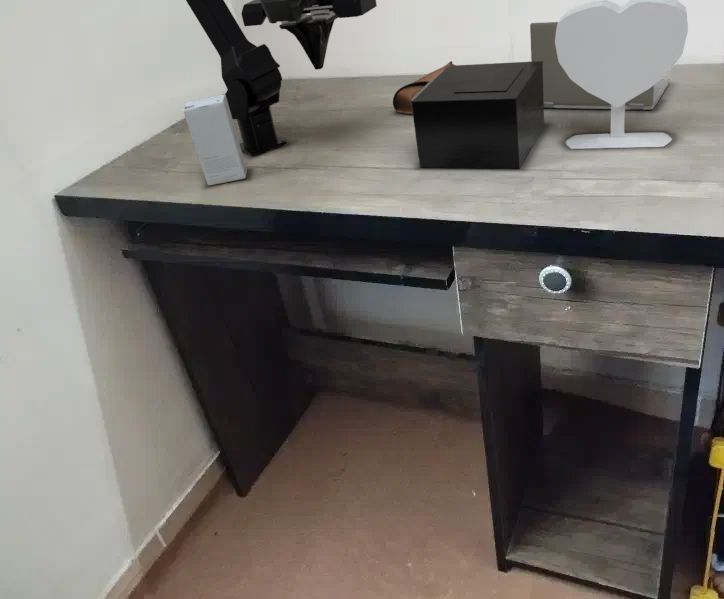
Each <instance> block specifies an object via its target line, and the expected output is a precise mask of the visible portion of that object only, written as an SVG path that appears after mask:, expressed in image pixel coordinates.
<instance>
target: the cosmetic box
mask: <svg viewBox="0 0 724 599" xmlns="http://www.w3.org/2000/svg"><path fill="white" fill-rule="evenodd" d="M182 112H183V114H184V117H185V120H186V123H187V126H188V129H189V133H190V135H191V138H192V142H193V144H194V148H195V150H196V154H197V157H198V160H199V163H200V166H201V169H202V172H203V176H204V178H205V182H206V185H207V186H215V185H220V184H224V183H229V182H234V181H239V180H244V179H246V178H247V171H248V168H247V164H246V162H245V158H244V154H243V151H242V150H241V147H240V144H241V143H240V140H239V136H238V133H237V129H236V127H235V122H234V119H232V115H231V112H230V109H229V105H228V101H227V98H226V95H225V94H221V95H215V96H210V97H204V98H201V99H196V100H195V99H194V100H190V101H187V102H186V103H185V105H184V108H183V111H182Z"/></svg>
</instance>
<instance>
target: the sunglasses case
mask: <svg viewBox="0 0 724 599" xmlns="http://www.w3.org/2000/svg"><path fill="white" fill-rule="evenodd" d="M454 65H455V64H454V63H453V61H449V62H447V64H445V65H443V66H442V67H440V68H438V69H436V70H433V71H431V72H430V73H427V74H425V75H424V76H422V77H420V78H419V79H417V80H415V81H413V82H411V83H408V84H405V85H403V86H402V87H400V88H399V89H397V91H395V93H394V95H393V98H392V106H393V108H394V111H395V112H396V113H398V114H403V115H409V116H410V115H411V116H413V107H412V105H411V99H412V98H413V97H414V96H415V95H416V94H417V93H418V92H419V91H420V90H421V89H422V88H423V87H424V86H425V85H426V84H427V83H429V82H430V81H433V80H434V79H435V78H437V77H438V76H439V75H440V74H441V73H442V72H443V71H444V70H445V69H446V68H447V67H448V66H454Z"/></svg>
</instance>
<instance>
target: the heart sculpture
mask: <svg viewBox="0 0 724 599" xmlns="http://www.w3.org/2000/svg"><path fill="white" fill-rule="evenodd" d="M557 22H558V24H557V29H556V36H555V46H556V51H557V56H558V62H559V63H560V65H561V66H562V68H563V69H564V71H565V72H566V73H567V75H568V76H569V78H570V79H571V80H572V81H573V82H575V83H576V84H577V85H579V86H580V87H581V88H583V89H584V90H586V91H587V92H589V93H591V94H592V95H594V96H596V97H598V98H600V99H602V100H604V101H606V102H608V103H609V104H611V109H610V132H609V133H587V134H585V133H584V134H575V135H573V136H571V137H570V138H568V139H567V140H566V141H565V144H566V146H567V147H568V148H569V149H571V150H576V149H577V150H579V149H584V150H585V149H621V148H622V149H625V148H659V147H660V148H663V147H665V146H666V145H668V144H669V143H671V142H672V139H673V138H672V137H671V136H670V135H669V134H667V133H665V132H659V131H658V132H656V131H655V132H654V131H653V132H652V131H651V132H650V131H649V132H625V131H626V130H625V127H626V126H625V125H626V109H625V103H626V102H627V101H629V100H631V99H633V98H634V97H636V96H638V95H639V94H641V93H643V92H644V91H646V90H648V89H649V88H651V87H652V86H653V85H655V84H656V83H657V82H658V81H660V80H661V79H664V78H665V77H666V76H667V75H669V73H670V72H671V71H672V69H673V68H674V66H675V65H676V63H677V62H678V61H679V59H680V58H681V56H682V55H683V53H684V50H685V45H686V40H687V37H688V32H689V25H688V22H689V21H688V15H687V7H686V6H685V5H684V4H682V3H681V2H680V1H679V0H629V1H628V2H626V3H625V4H624V5H622V6H621V5H619V4H617V3H615V2H613V1H611V0H592V1H588V2H586V3H582V4H580V5H577V6H575V7H573V8H571V9H569V10H567V11H566V12H565V13H564V14H563V15H562V16H561V17H560V19H559V21H557Z"/></svg>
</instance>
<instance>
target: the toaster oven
mask: <svg viewBox="0 0 724 599" xmlns="http://www.w3.org/2000/svg"><path fill="white" fill-rule="evenodd" d="M411 105H412V107H413V115H412V117H413V127H414V134H415V142H416V148H417V156H418V162H419V168H420V169H480V170H481V169H482V170H483V169H486V170H487V169H488V170H489V169H490V170H491V169H492V170H493V169H494V170H498V169H499V170H520V169H521V167H522V165H523V163H524V162H525V160H526V158H527V157H528V155H529V153H530V151H531V149H532V148H533V146H534V144H535V143H536V141H537V139H538V137H539V136H540V134H541V132H542V130H543V128H544V127H545V107H544V97H543V64H542V61H534V62H531V61H517V62H516V61H515V62H495V63H478V64H477V63H476V64H454V66H448V67H447V68H446V69H445V70H444V71H443V72H442V73H441V74H440V75H439V76H438V77H437V78H435V79H434V80H433V81H430V82H429V83H427V84H426V85H425V86H424V87H423V88H422V89H421V90H420V91H419V92H418V93H417V94H416V95H415V96H414V97H413V98H412V99H411Z"/></svg>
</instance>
